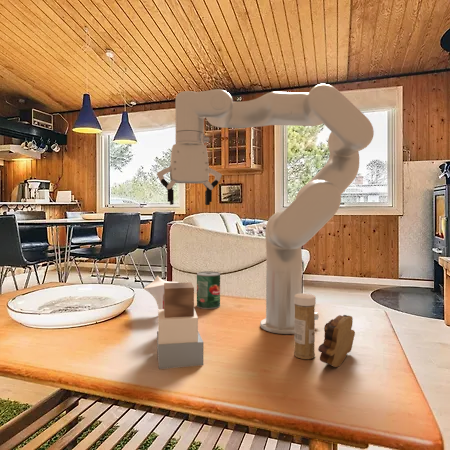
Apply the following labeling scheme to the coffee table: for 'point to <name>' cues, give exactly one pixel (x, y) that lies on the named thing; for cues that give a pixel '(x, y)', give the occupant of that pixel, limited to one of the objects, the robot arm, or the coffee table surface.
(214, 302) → the canned tomato
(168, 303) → the walnut cube
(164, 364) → the tower base
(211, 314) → the coffee table surface
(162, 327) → the tower top
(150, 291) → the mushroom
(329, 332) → the wooden carving
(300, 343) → the sprinkles bottle
